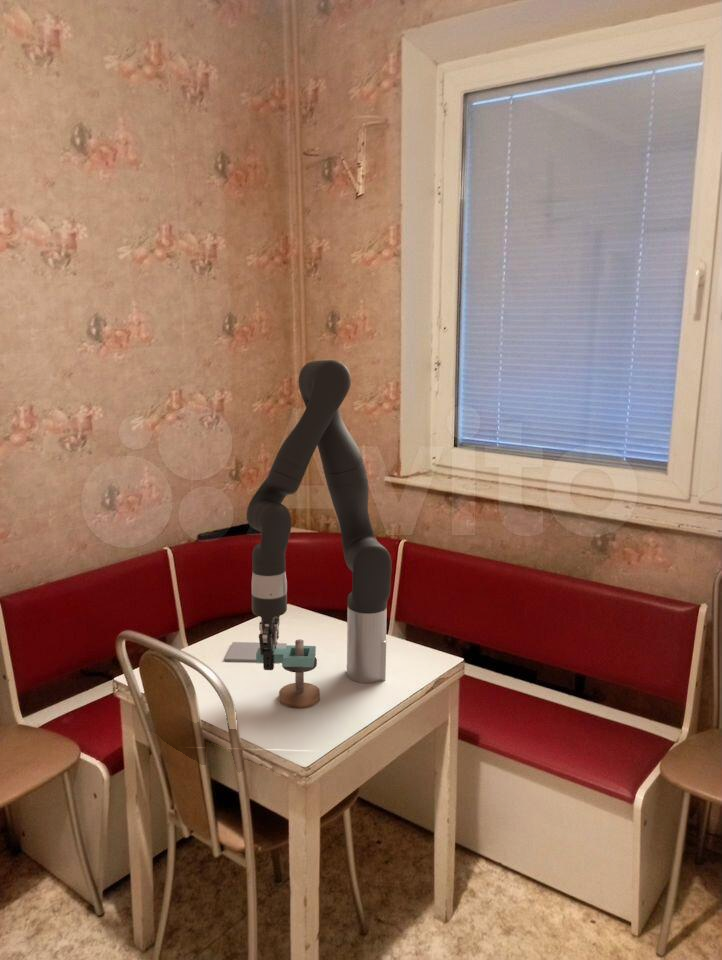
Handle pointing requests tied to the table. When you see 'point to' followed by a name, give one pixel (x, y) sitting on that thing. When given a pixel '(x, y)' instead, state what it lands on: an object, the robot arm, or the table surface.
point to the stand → (299, 685)
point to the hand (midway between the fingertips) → (270, 665)
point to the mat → (246, 651)
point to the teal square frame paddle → (291, 656)
